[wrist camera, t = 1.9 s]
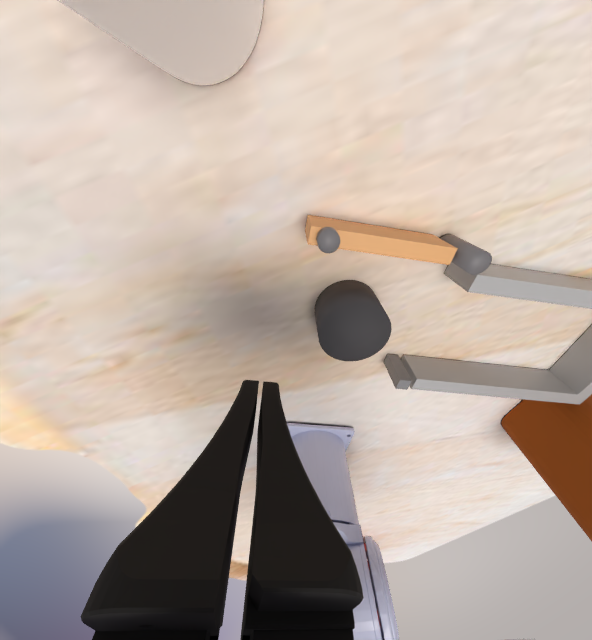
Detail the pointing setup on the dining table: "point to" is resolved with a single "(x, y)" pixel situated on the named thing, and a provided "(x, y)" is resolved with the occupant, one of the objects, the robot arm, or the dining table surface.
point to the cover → (395, 243)
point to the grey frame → (499, 380)
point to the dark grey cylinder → (351, 321)
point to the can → (181, 33)
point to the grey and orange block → (558, 450)
